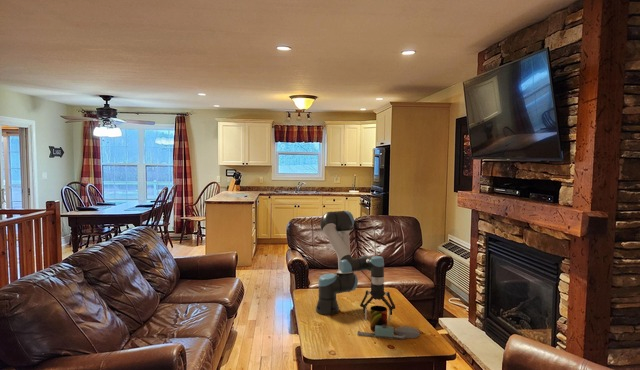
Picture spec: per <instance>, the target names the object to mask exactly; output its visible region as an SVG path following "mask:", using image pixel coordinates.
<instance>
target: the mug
mask: <svg viewBox="0 0 640 370" xmlns="http://www.w3.org/2000/svg"><path fill="white" fill-rule="evenodd" d="M369 308H370V317H369V320H370V324H369V325H370V328H369V329H370V331H372V332H373V333H375V325H379V326H382V325H386V326H388V307H386V306H384V305H373V306H370V307H369Z"/></svg>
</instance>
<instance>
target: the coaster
mask: <svg viewBox="0 0 640 370" xmlns="http://www.w3.org/2000/svg"><path fill="white" fill-rule="evenodd" d="M394 335H397V336H403V335H405V339H417V338H418V337H420V335H421V331H420V330H418V329H417V328H415V327H412V326H405V325H404V326H398V327H396V328H395V329H394Z"/></svg>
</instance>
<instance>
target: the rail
mask: <svg viewBox="0 0 640 370" xmlns="http://www.w3.org/2000/svg"><path fill="white" fill-rule="evenodd" d="M357 336H362V337H370V338H371V337H373V338H374V337H375V338H380V339H392V340H401V341H405V340H406V338H405V335H403V336H397V335H396V334H394V336H393V337H387V336H377V335H375V332H364V331H360V330H357Z"/></svg>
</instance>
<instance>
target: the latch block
mask: <svg viewBox="0 0 640 370" xmlns="http://www.w3.org/2000/svg"><path fill="white" fill-rule="evenodd" d="M394 328H395V326H390V325H389V326H388V325H387V326H386V325H382V326H379V325H375V332H374V333H375V335H377V336H387V337H393V336H394V335H395V329H394Z"/></svg>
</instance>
